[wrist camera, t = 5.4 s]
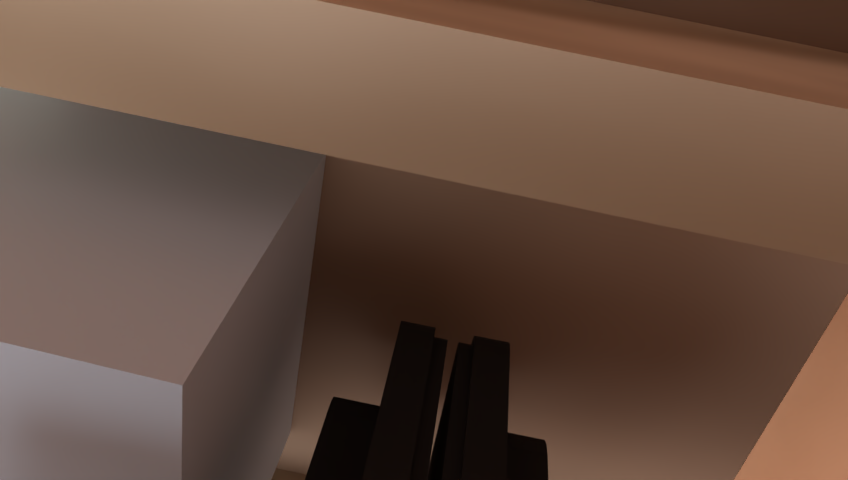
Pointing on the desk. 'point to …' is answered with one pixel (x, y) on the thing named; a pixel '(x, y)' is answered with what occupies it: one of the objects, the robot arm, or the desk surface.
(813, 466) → the desk surface
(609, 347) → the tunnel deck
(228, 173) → the block
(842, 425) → the desk surface
